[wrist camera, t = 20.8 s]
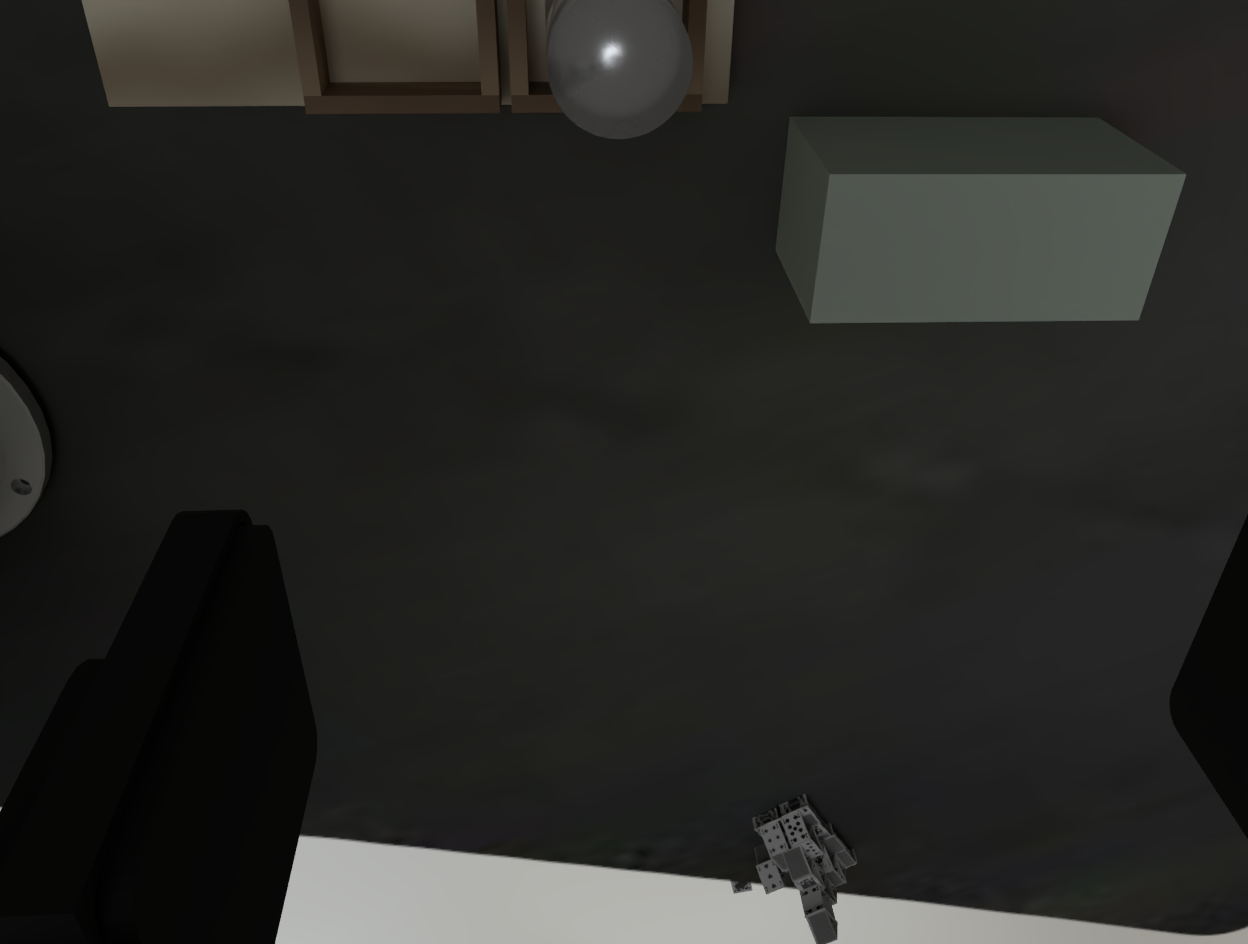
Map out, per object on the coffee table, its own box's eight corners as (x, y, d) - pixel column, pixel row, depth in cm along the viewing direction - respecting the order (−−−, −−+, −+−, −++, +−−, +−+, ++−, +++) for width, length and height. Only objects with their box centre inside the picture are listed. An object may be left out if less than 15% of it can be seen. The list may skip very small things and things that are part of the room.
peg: (659, 61, 37) (689, 138, 30) (546, 62, 37) (549, 140, 30) (662, -64, 35) (696, -14, 28) (542, -64, 35) (544, -14, 27)
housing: (1061, 247, 45) (1138, 320, 39) (774, 248, 44) (809, 323, 38) (1097, 116, 42) (1186, 174, 36) (789, 115, 41) (829, 174, 35)
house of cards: (669, 827, 65) (682, 941, 59) (793, 772, 63) (821, 884, 57) (736, 896, 70) (756, 1009, 64) (854, 847, 68) (886, 959, 61)
